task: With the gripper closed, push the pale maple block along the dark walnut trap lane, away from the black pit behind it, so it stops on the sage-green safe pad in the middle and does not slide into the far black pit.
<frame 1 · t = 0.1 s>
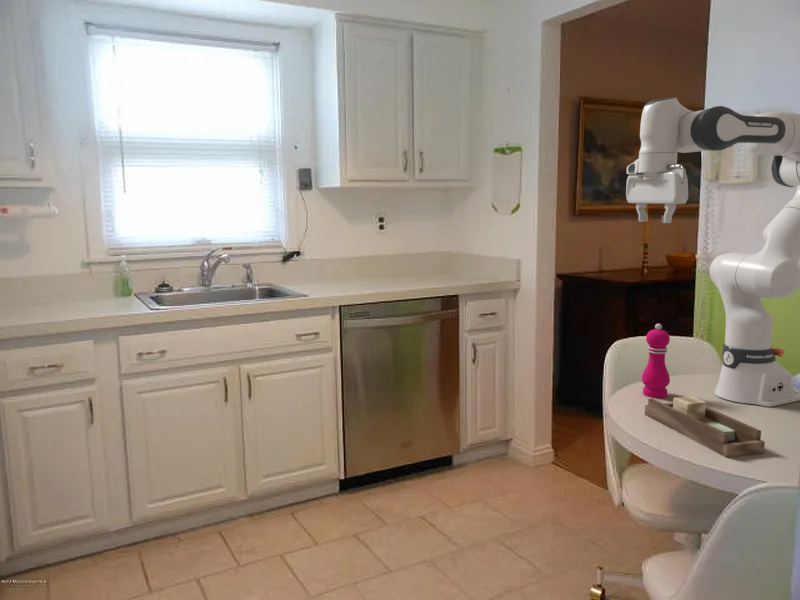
hand: (654, 222, 163), 48 cm above the table, fingers open, 8 cm apart
pepper mill: (654, 395, 180), on the table
trap lane: (699, 432, 152), on the table
maple block: (688, 416, 155), point 2 cm above the table, touching trap lane
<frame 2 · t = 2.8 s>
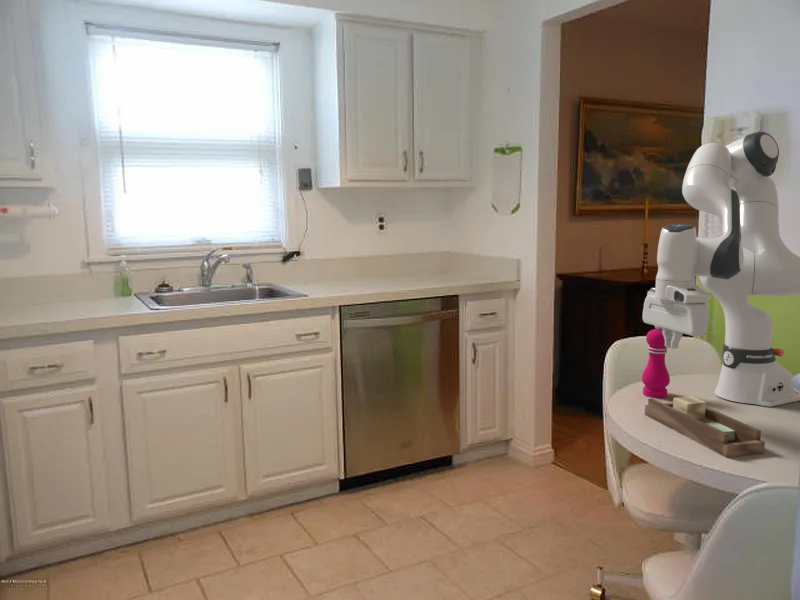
hand: (671, 347, 160), 18 cm above the table, fingers closed
nothing on the table moved.
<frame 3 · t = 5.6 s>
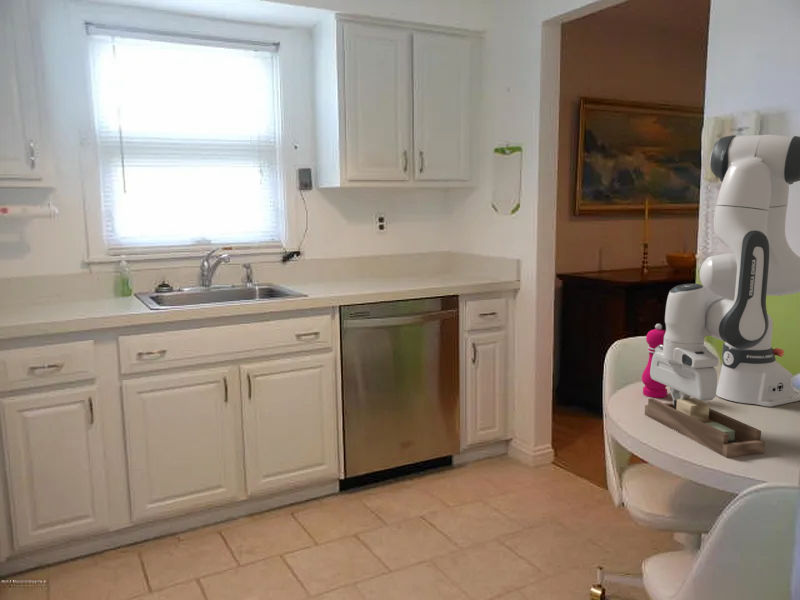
hand: (679, 407, 158), 4 cm above the table, fingers closed
maple block: (691, 418, 154), point 3 cm above the table, touching gripper, trap lane
everything else where it was.
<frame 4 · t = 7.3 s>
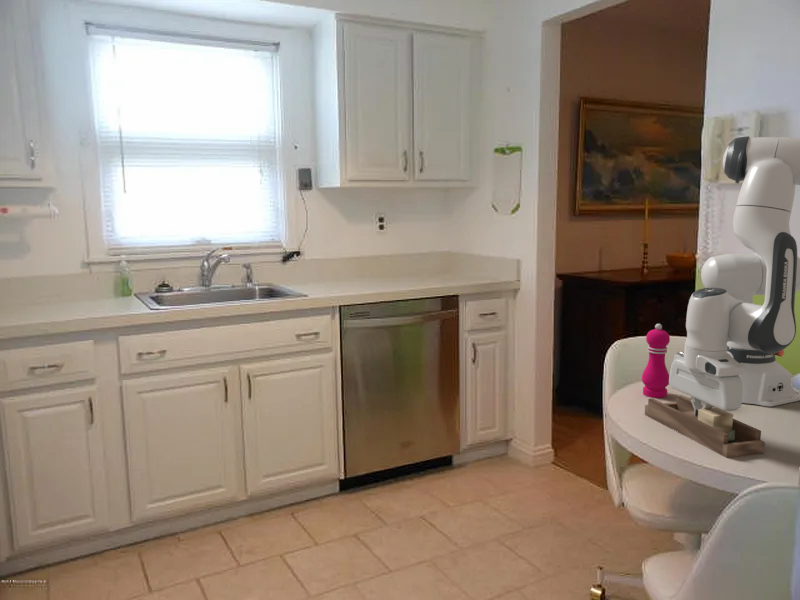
hand: (700, 417, 151), 4 cm above the table, fingers closed
maple block: (714, 429, 146), point 2 cm above the table, touching gripper, trap lane
everything else where it was.
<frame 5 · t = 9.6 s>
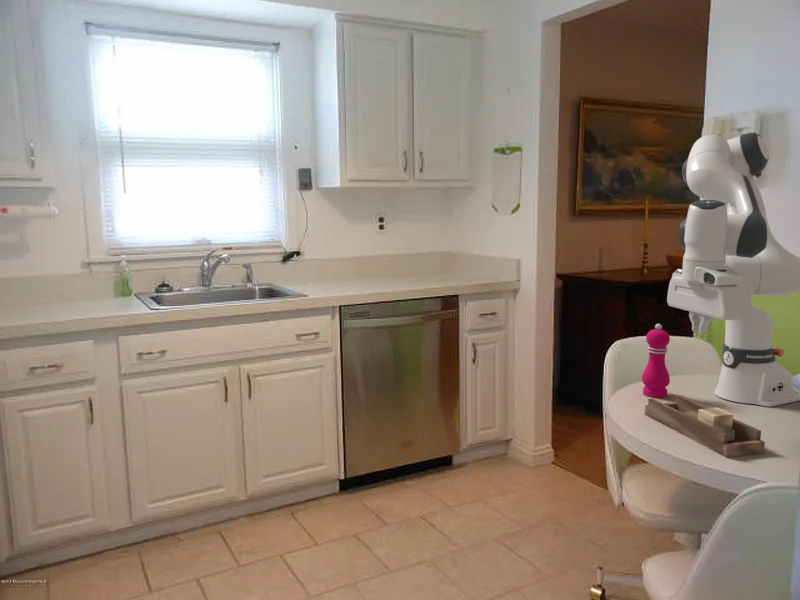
hand: (699, 332, 150), 23 cm above the table, fingers closed
maple block: (714, 429, 146), point 2 cm above the table, touching trap lane
everything else where it was.
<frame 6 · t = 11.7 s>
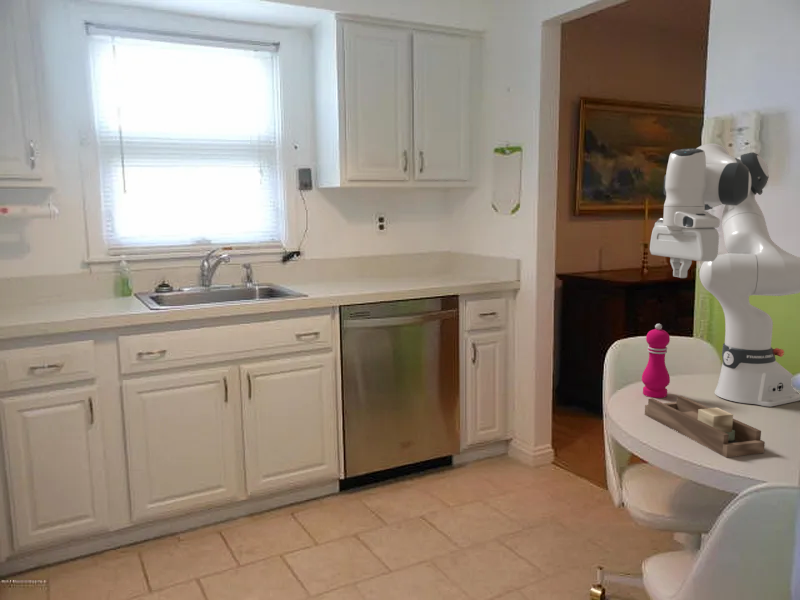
hand: (679, 277, 156), 35 cm above the table, fingers closed
nothing on the table moved.
at the end: maple block 1.2 cm from the target spot, point 2.5 cm above the table; maple block tilted 0°; the gripper is holding nothing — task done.
